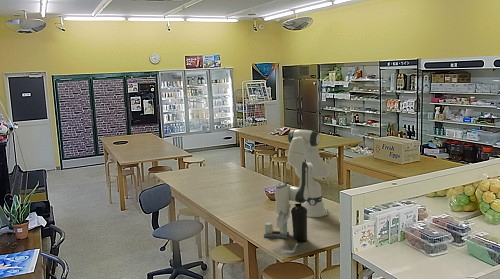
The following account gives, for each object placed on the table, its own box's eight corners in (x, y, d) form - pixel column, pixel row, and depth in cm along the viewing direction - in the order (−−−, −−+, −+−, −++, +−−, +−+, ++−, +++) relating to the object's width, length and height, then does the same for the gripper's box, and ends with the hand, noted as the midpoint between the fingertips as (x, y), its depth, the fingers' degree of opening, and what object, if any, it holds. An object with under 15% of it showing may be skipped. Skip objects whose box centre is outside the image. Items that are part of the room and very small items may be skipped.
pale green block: (287, 235, 280) (286, 223, 279) (286, 237, 277) (285, 225, 276) (281, 235, 282) (280, 223, 280) (279, 237, 278) (279, 225, 277)
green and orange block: (265, 236, 281) (265, 224, 280) (267, 234, 285) (266, 222, 283) (271, 236, 280) (271, 224, 279) (273, 234, 283) (272, 222, 282)
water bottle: (305, 236, 280) (304, 202, 276) (310, 242, 270) (309, 206, 266) (290, 238, 278) (288, 203, 275) (294, 244, 268) (293, 208, 265)
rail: (267, 234, 288) (267, 229, 288) (289, 235, 283) (289, 230, 283) (263, 239, 279) (263, 235, 278) (286, 241, 274) (285, 236, 273)
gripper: (283, 214, 266) (284, 236, 268) (291, 204, 285) (292, 224, 287) (273, 213, 268) (274, 235, 270) (281, 203, 287) (282, 223, 289)
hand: (283, 229), depth 279 cm, fingers open, 8 cm apart
